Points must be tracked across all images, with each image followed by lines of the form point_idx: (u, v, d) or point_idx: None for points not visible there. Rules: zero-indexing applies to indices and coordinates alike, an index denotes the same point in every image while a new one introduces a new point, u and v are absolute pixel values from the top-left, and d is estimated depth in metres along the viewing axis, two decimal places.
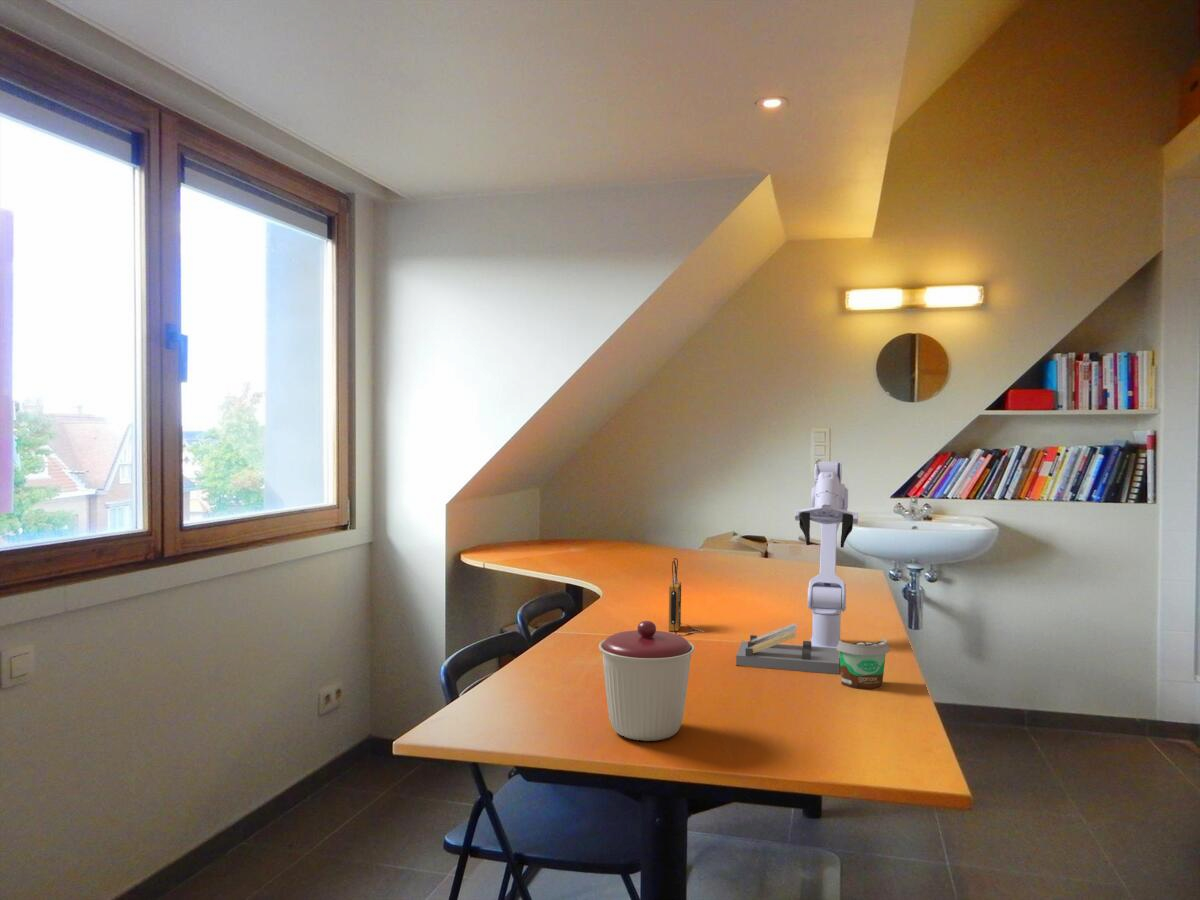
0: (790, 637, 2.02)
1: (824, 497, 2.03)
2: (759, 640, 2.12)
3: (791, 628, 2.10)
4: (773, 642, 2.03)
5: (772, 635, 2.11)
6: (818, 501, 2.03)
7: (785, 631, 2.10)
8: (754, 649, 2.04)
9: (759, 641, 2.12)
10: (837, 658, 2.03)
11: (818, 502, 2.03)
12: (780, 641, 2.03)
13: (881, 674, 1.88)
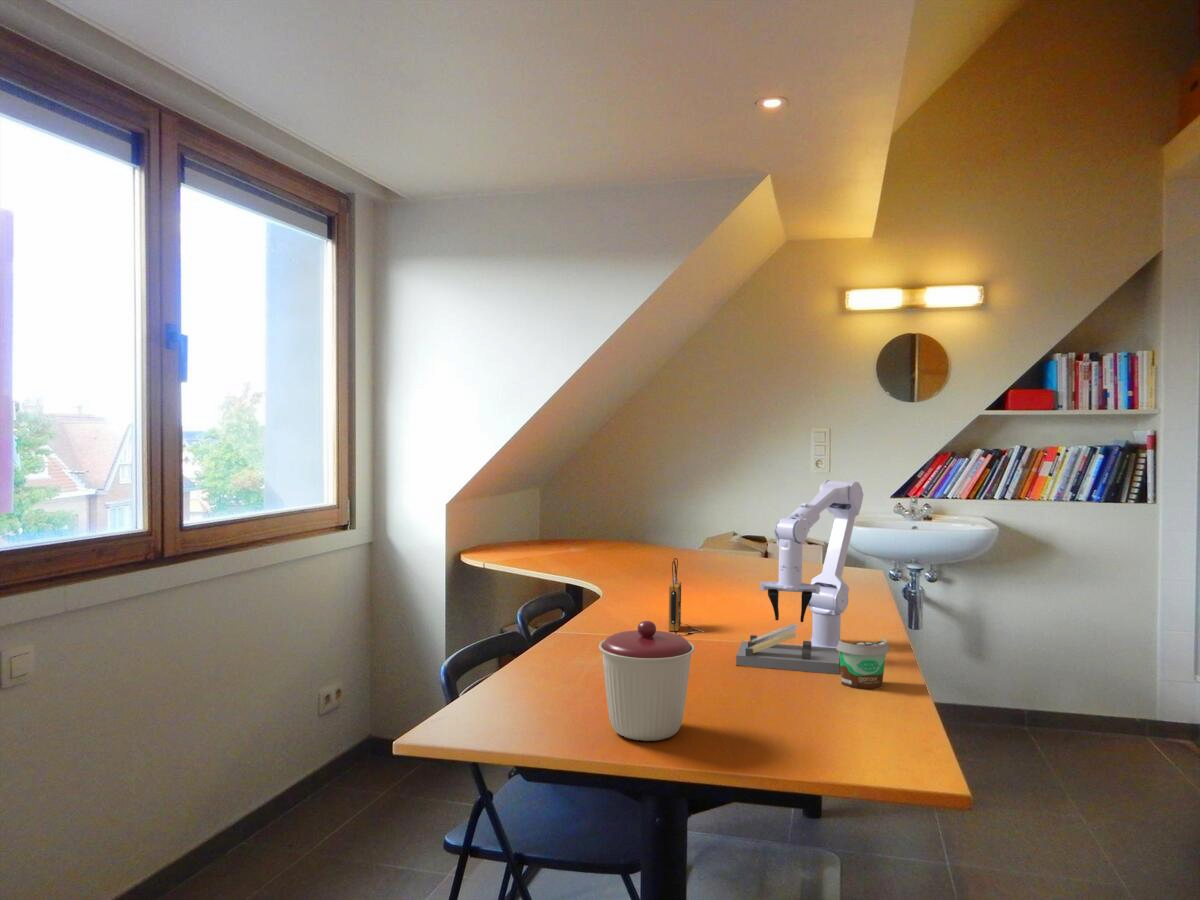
0: (790, 637, 2.02)
1: (787, 574, 2.09)
2: (759, 640, 2.12)
3: (791, 628, 2.10)
4: (773, 642, 2.03)
5: (772, 635, 2.11)
6: (781, 577, 2.10)
7: (785, 631, 2.10)
8: (754, 649, 2.04)
9: (759, 641, 2.12)
10: (837, 658, 2.03)
11: (781, 577, 2.10)
12: (780, 641, 2.03)
13: (881, 674, 1.88)
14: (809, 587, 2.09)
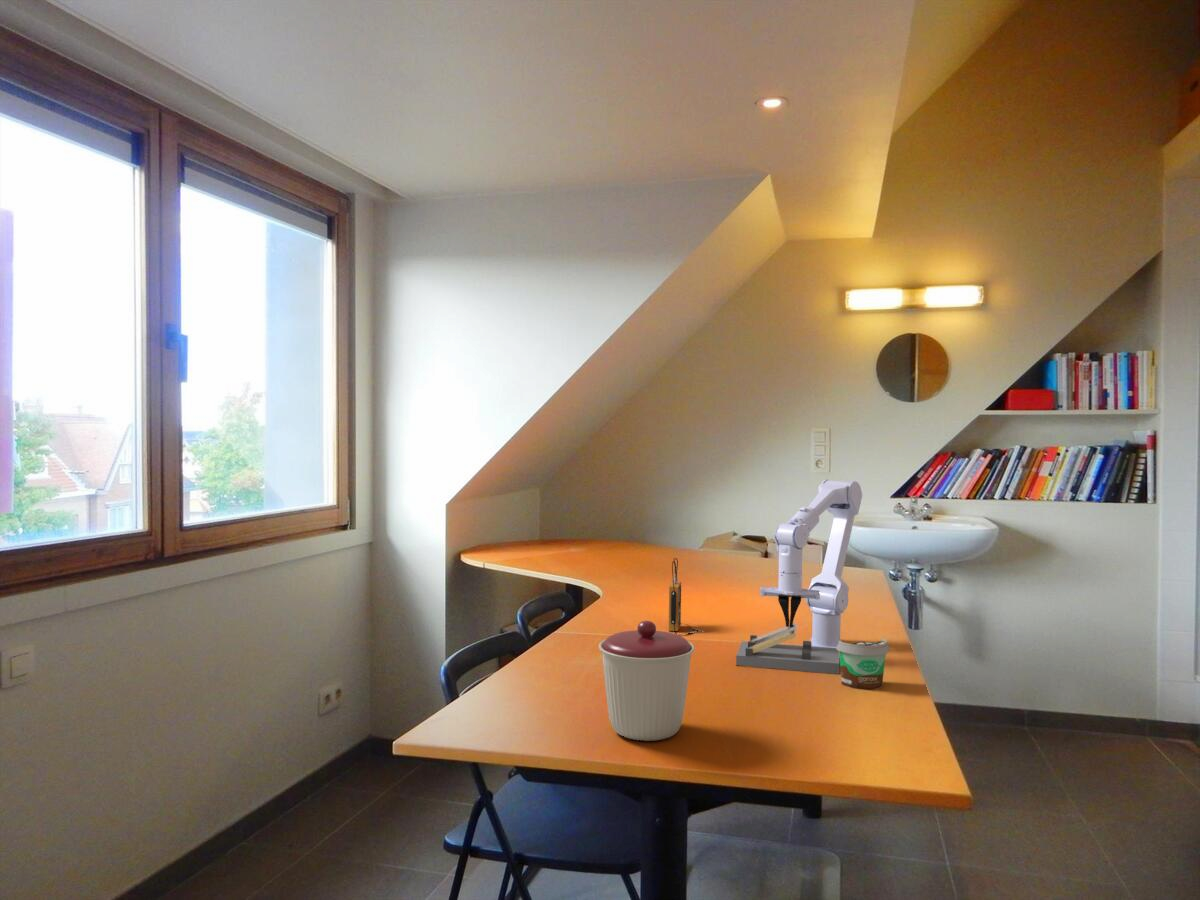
0: (790, 637, 2.02)
1: (787, 580, 2.09)
2: (759, 640, 2.12)
3: (791, 628, 2.10)
4: (773, 642, 2.03)
5: (772, 635, 2.11)
6: (781, 582, 2.10)
7: (785, 631, 2.10)
8: (754, 649, 2.04)
9: (759, 641, 2.12)
10: (837, 658, 2.03)
11: (781, 583, 2.10)
12: (780, 641, 2.03)
13: (881, 674, 1.88)
14: (809, 593, 2.09)
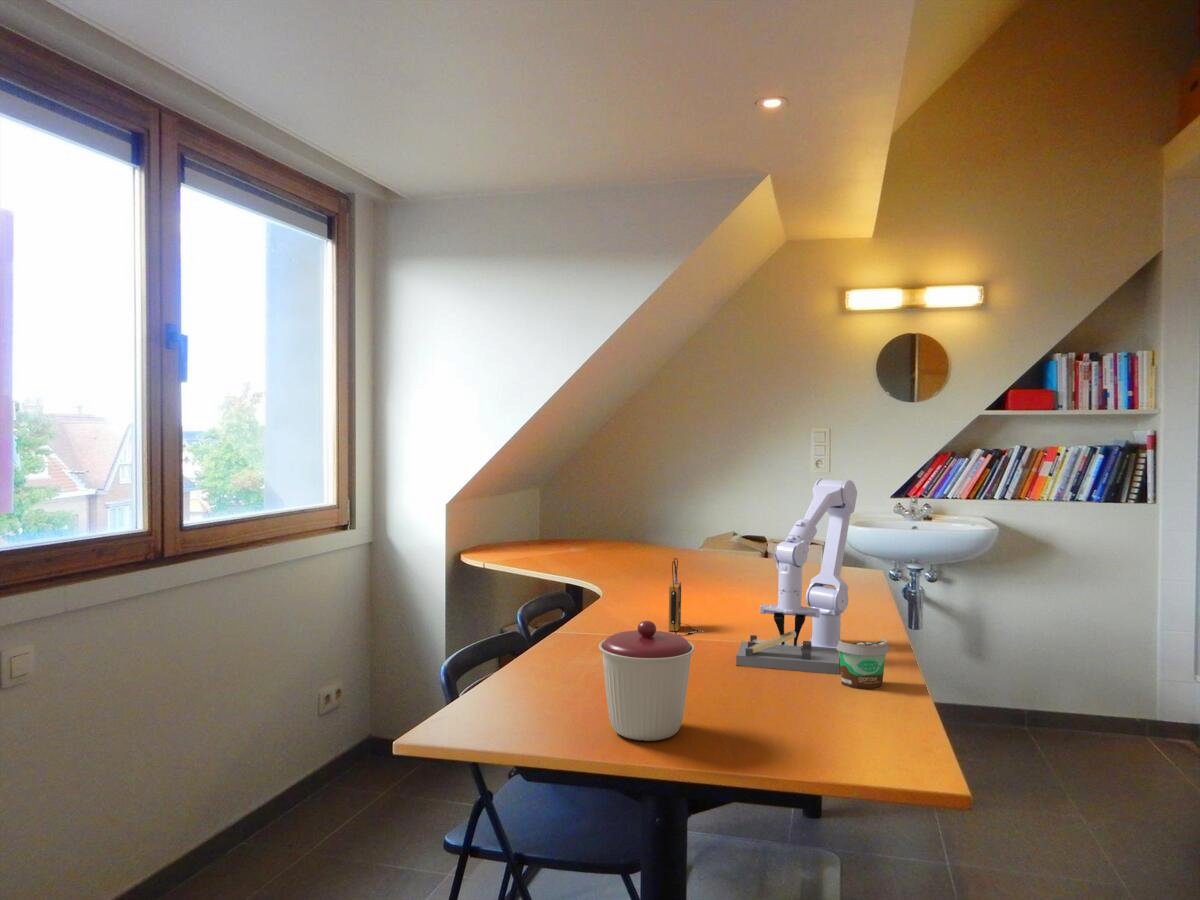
0: (790, 637, 2.02)
1: (787, 598, 2.09)
2: None
3: (796, 647, 2.10)
4: (773, 642, 2.03)
5: (775, 645, 2.11)
6: (781, 600, 2.10)
7: (789, 647, 2.10)
8: (754, 649, 2.04)
9: None
10: (837, 658, 2.03)
11: (781, 601, 2.10)
12: (780, 641, 2.03)
13: (881, 674, 1.88)
14: (809, 611, 2.09)
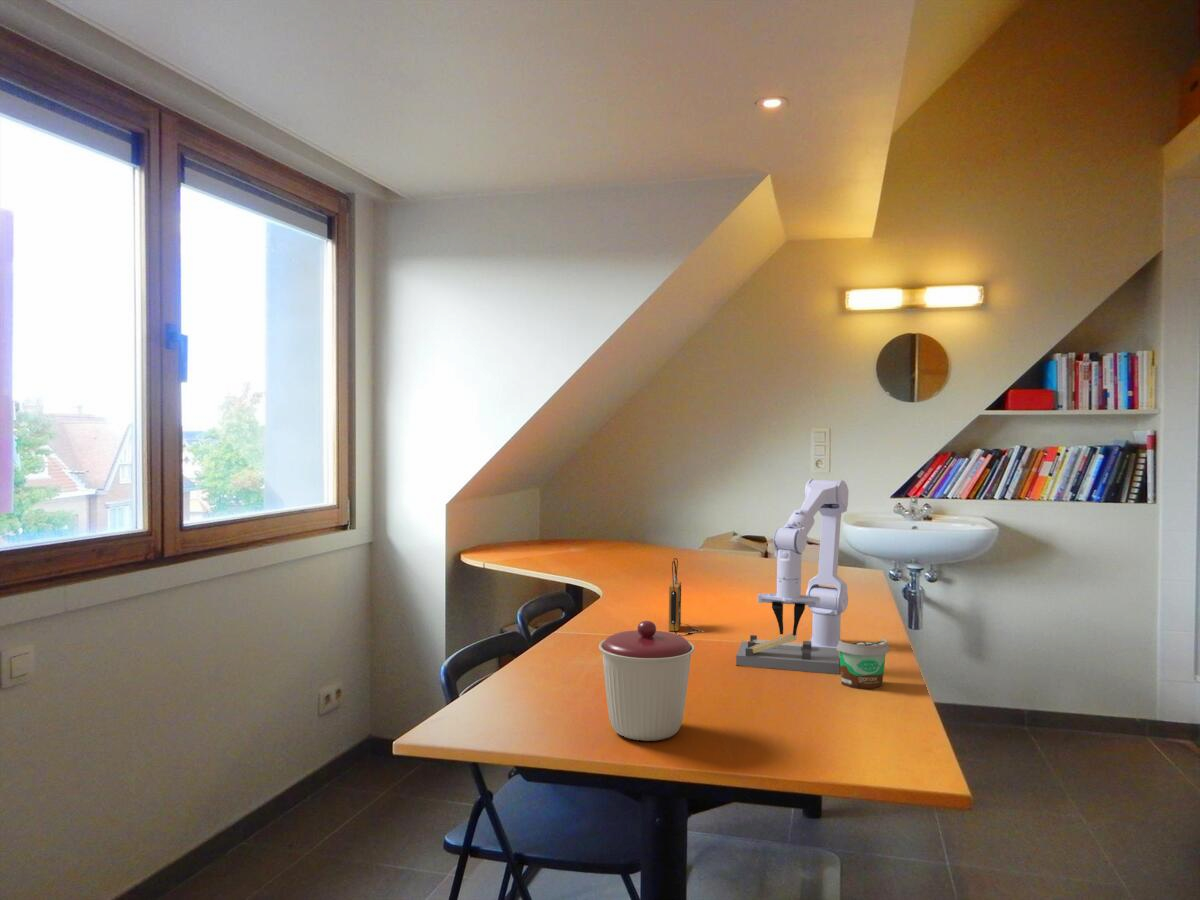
0: (791, 639, 2.02)
1: (785, 586, 2.01)
2: None
3: (796, 647, 2.10)
4: (774, 643, 2.03)
5: None
6: (780, 588, 2.02)
7: (789, 647, 2.10)
8: (754, 649, 2.04)
9: None
10: (837, 658, 2.03)
11: (779, 589, 2.02)
12: (781, 643, 2.03)
13: (881, 674, 1.88)
14: (808, 599, 2.01)
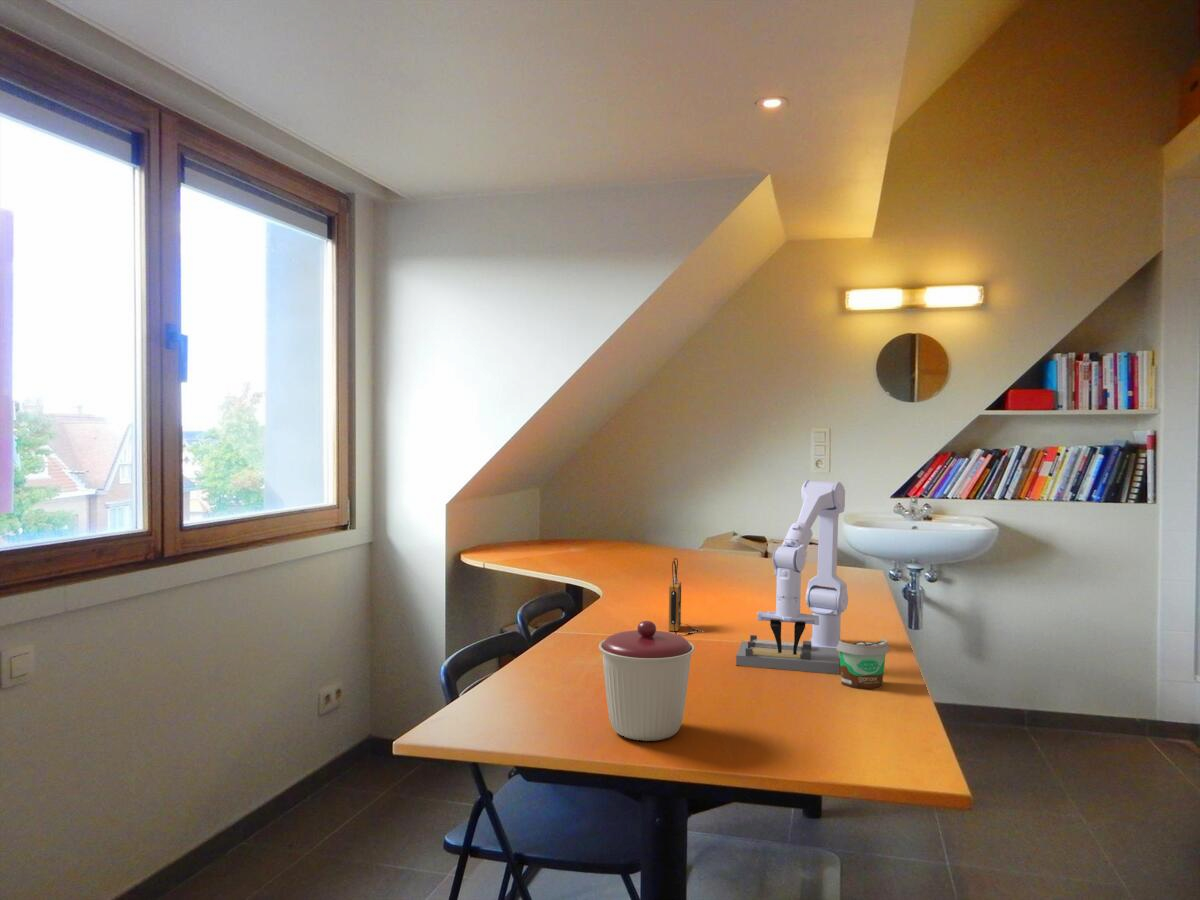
0: (795, 657, 2.02)
1: (785, 605, 2.01)
2: (761, 644, 2.12)
3: None
4: (777, 654, 2.03)
5: (775, 645, 2.11)
6: (779, 607, 2.02)
7: (789, 647, 2.10)
8: (756, 652, 2.04)
9: (761, 645, 2.12)
10: (837, 658, 2.03)
11: (779, 608, 2.02)
12: (784, 656, 2.03)
13: (881, 674, 1.88)
14: (808, 618, 2.01)
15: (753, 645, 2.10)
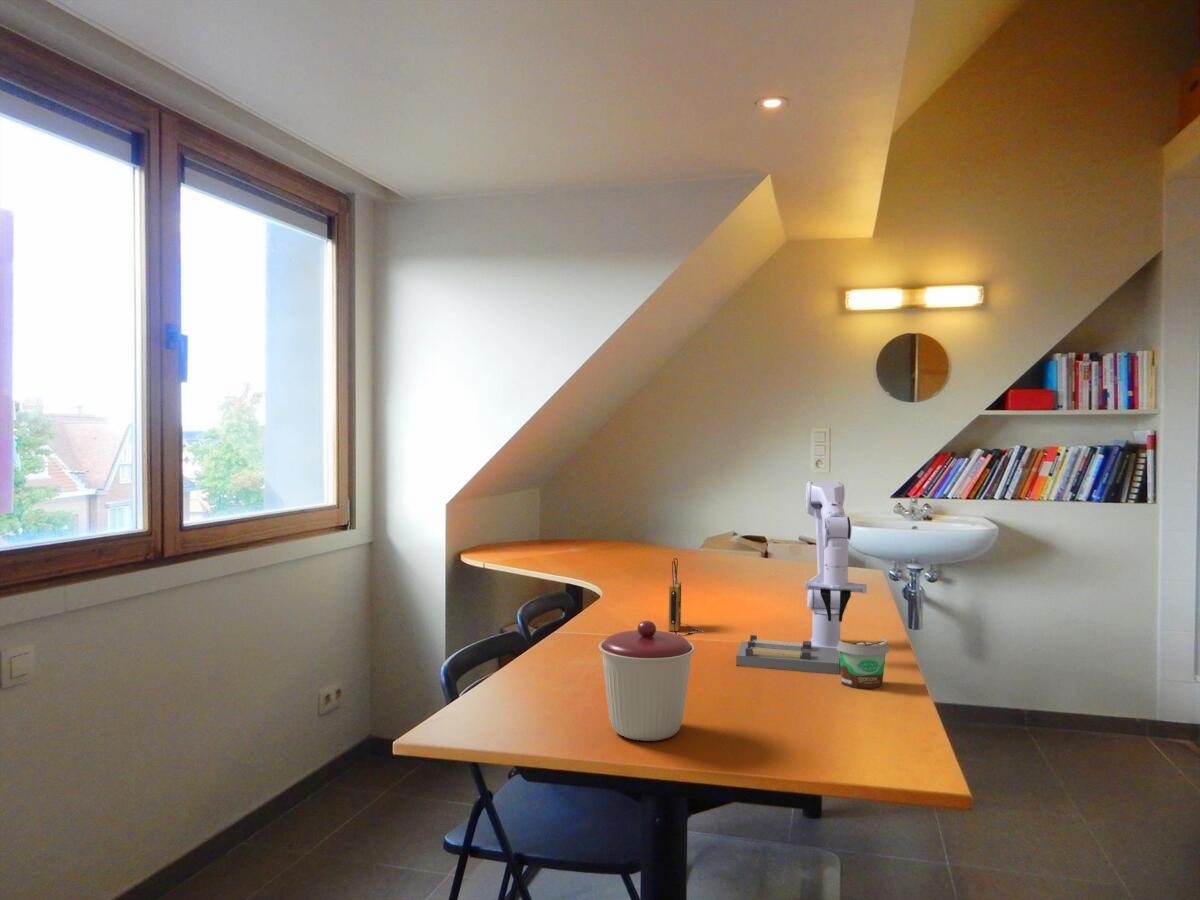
0: (795, 657, 2.02)
1: (833, 574, 2.05)
2: (761, 644, 2.12)
3: (796, 647, 2.10)
4: (777, 654, 2.03)
5: (775, 645, 2.11)
6: (827, 576, 2.06)
7: (789, 647, 2.10)
8: (756, 652, 2.04)
9: (761, 645, 2.12)
10: (837, 658, 2.03)
11: (827, 577, 2.06)
12: (784, 656, 2.03)
13: (881, 674, 1.88)
14: (856, 586, 2.05)
15: (753, 645, 2.10)
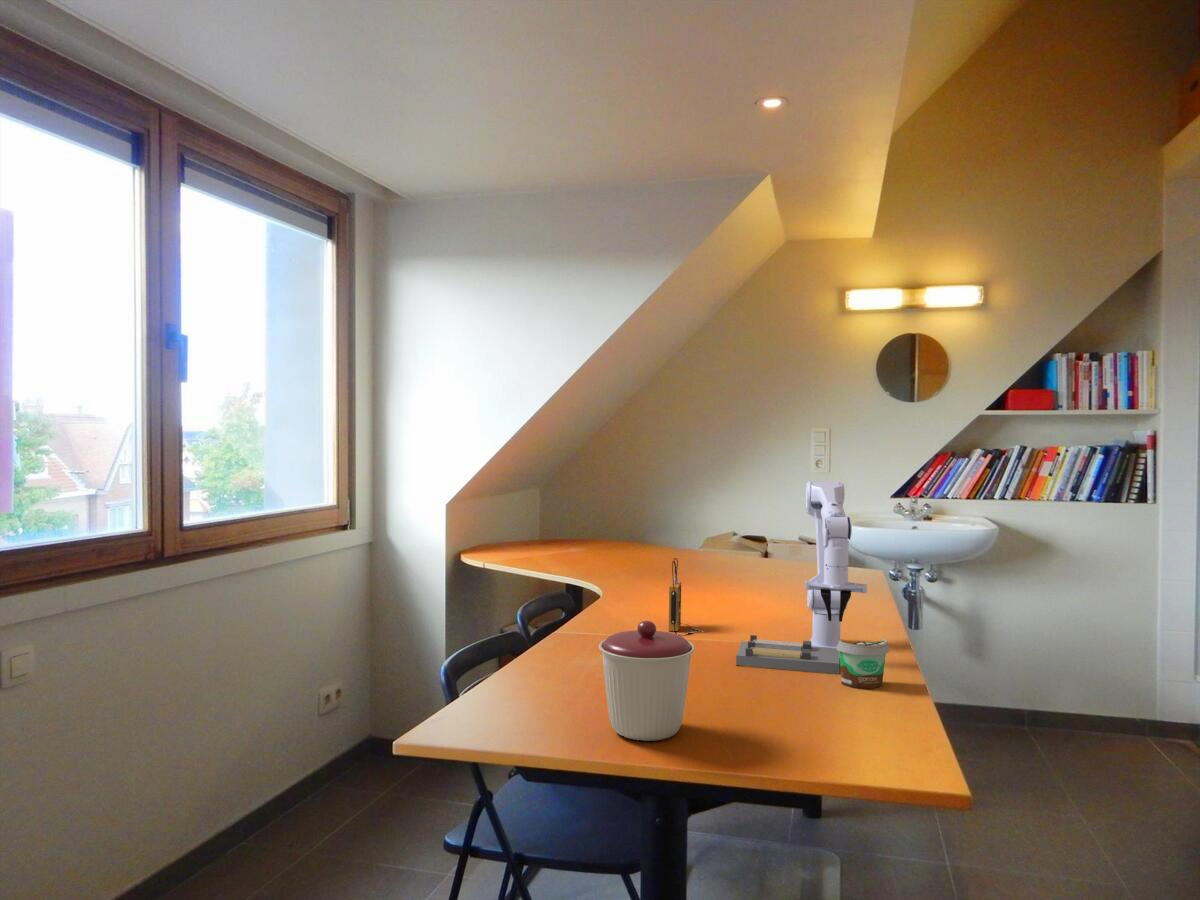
0: (795, 657, 2.02)
1: (833, 574, 2.05)
2: (761, 644, 2.12)
3: (796, 647, 2.10)
4: (777, 654, 2.03)
5: (775, 645, 2.11)
6: (827, 576, 2.06)
7: (789, 647, 2.10)
8: (756, 652, 2.04)
9: (761, 645, 2.12)
10: (837, 658, 2.03)
11: (827, 576, 2.06)
12: (784, 656, 2.03)
13: (881, 674, 1.88)
14: (856, 586, 2.05)
15: (753, 645, 2.10)
